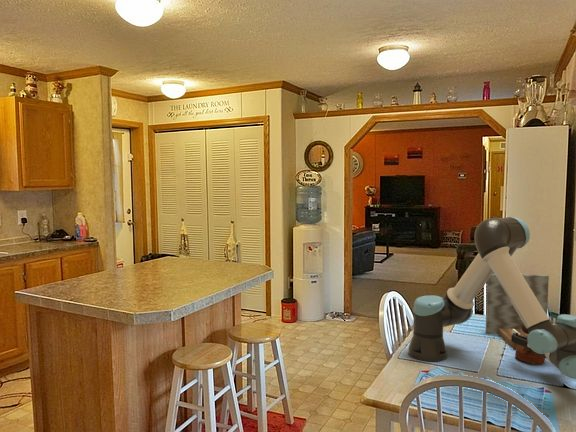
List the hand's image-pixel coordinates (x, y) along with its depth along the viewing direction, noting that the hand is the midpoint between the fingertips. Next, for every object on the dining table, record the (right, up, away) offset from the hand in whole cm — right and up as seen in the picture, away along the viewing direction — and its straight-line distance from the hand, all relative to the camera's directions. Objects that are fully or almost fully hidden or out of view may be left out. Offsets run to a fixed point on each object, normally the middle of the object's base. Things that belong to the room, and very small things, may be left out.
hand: (531, 332), depth 186 cm
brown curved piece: (0, -11, 0) cm, 11 cm away
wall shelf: (+7, -9, +19) cm, 22 cm away
